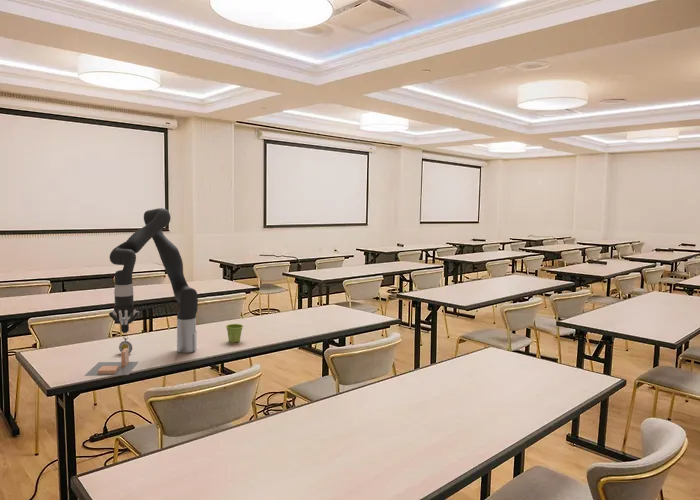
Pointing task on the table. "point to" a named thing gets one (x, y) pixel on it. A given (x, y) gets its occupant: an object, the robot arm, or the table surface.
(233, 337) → the plant pot
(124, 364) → the tile far
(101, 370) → the tile near
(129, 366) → the slate board
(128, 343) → the pocket watch
